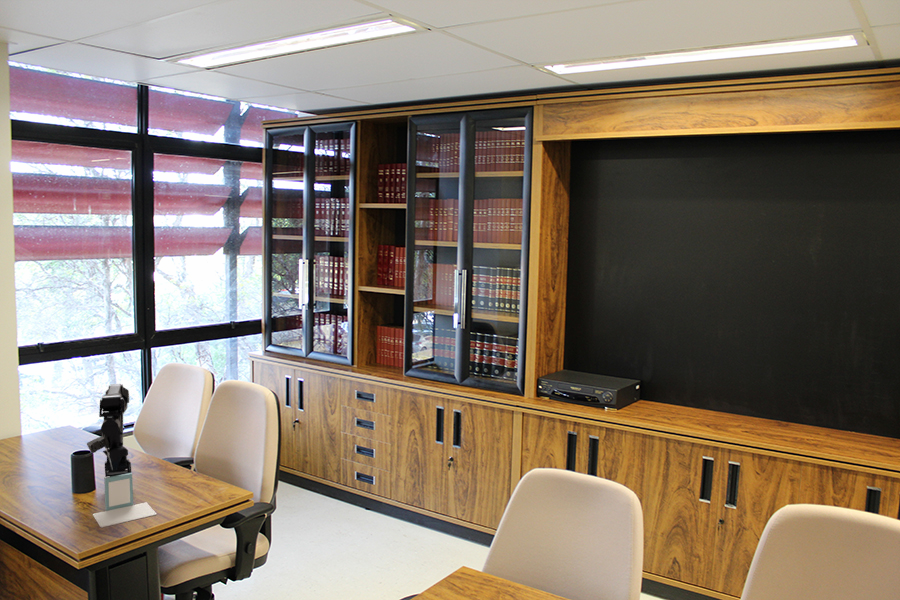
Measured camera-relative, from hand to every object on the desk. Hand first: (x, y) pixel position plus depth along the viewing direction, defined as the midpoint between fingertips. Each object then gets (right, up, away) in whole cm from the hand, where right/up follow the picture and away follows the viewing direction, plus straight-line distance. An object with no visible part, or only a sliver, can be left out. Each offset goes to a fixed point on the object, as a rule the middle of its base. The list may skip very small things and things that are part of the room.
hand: (114, 470), depth 247 cm
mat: (+9, -13, -11) cm, 20 cm away
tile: (+4, -13, -5) cm, 14 cm away
